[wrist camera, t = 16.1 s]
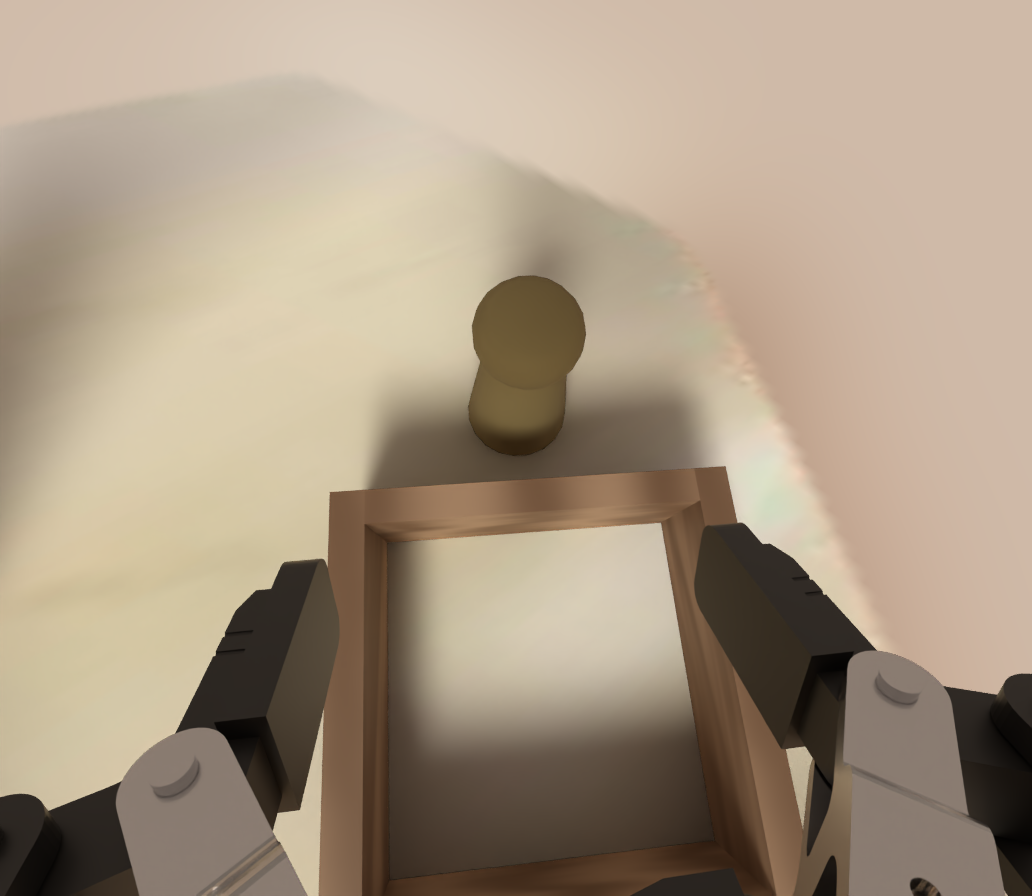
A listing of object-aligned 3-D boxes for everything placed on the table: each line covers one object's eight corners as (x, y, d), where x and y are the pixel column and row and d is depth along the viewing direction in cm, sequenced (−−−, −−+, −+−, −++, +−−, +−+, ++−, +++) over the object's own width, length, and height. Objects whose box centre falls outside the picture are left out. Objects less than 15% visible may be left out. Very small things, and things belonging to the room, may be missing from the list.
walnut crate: (354, 925, 25) (315, 1016, 19) (358, 516, 31) (329, 492, 25) (752, 875, 26) (827, 944, 20) (682, 494, 32) (725, 466, 26)
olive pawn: (509, 348, 34) (521, 229, 24) (583, 404, 34) (629, 306, 23) (447, 414, 33) (431, 317, 22) (523, 475, 32) (544, 403, 21)
